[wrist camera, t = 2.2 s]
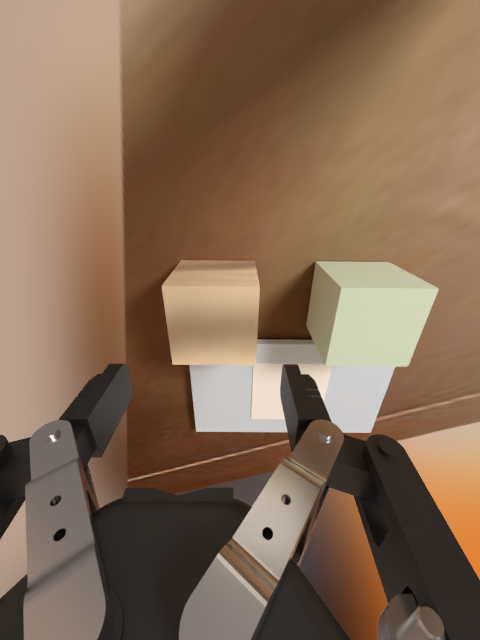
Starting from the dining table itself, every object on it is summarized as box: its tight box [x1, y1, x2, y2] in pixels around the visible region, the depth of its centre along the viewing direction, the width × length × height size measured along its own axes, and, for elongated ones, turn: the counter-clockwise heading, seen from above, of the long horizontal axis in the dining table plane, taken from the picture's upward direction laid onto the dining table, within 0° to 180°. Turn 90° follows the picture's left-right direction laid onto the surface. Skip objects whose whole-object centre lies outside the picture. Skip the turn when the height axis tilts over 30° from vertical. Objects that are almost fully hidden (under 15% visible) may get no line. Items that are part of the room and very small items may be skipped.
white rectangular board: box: [189, 339, 395, 433], centre depth 27 cm, size 12×20×1 cm, turn 89°
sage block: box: [306, 261, 439, 367], centre depth 20 cm, size 6×6×6 cm
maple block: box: [162, 260, 260, 365], centre depth 20 cm, size 6×6×6 cm
